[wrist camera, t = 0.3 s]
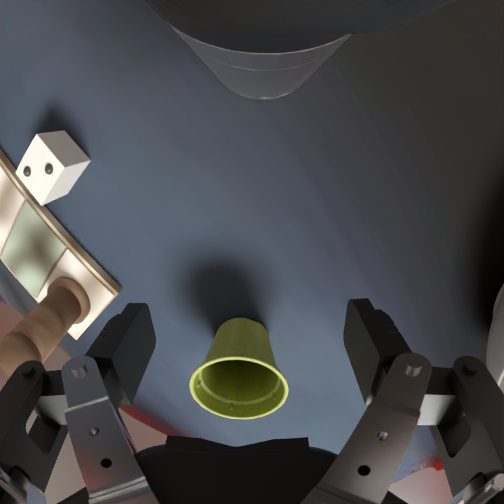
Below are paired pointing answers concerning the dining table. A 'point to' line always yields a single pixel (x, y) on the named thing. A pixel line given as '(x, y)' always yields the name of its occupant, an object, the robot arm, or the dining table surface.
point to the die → (51, 166)
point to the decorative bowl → (497, 342)
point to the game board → (45, 248)
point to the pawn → (45, 325)
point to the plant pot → (239, 373)
